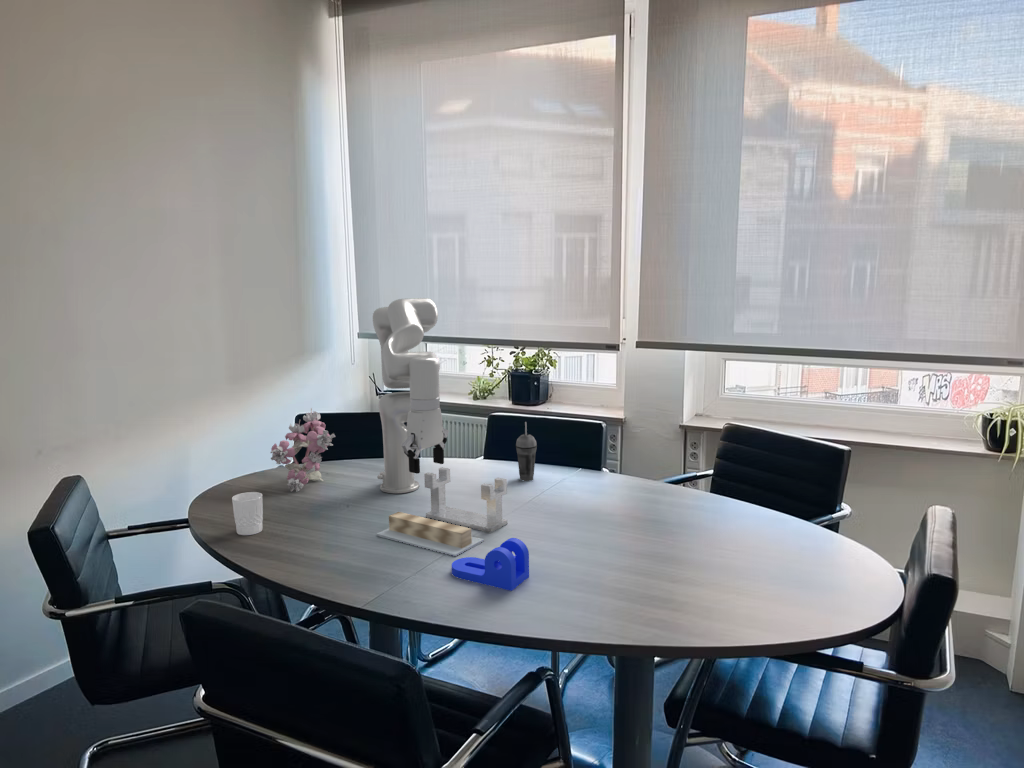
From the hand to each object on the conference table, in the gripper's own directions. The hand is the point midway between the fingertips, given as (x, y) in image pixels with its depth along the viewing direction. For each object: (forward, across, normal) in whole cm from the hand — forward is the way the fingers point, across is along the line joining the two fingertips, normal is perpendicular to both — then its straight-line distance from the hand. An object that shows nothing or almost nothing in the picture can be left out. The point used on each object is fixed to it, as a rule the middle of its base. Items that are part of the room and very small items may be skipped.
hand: (426, 467), depth 191 cm
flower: (+21, -13, -65) cm, 70 cm away
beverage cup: (+21, -58, -6) cm, 62 cm away
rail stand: (+20, -15, +1) cm, 25 cm away
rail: (+19, +1, +1) cm, 19 cm away
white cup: (+20, +23, -45) cm, 54 cm away
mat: (+19, +1, +1) cm, 19 cm away
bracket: (+19, +12, +27) cm, 35 cm away
